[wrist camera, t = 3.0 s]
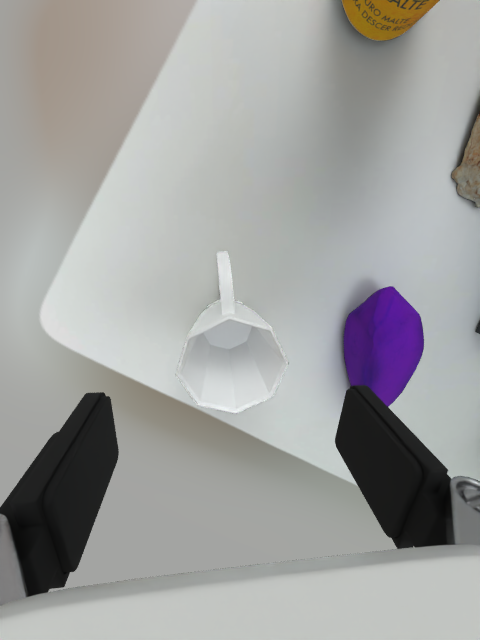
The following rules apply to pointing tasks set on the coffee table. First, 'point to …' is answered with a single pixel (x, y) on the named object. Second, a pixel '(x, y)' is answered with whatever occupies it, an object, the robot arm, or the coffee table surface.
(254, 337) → the cup
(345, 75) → the coffee table surface
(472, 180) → the oyster shell
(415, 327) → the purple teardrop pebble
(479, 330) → the scale
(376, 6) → the beer can
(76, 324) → the coffee table surface
